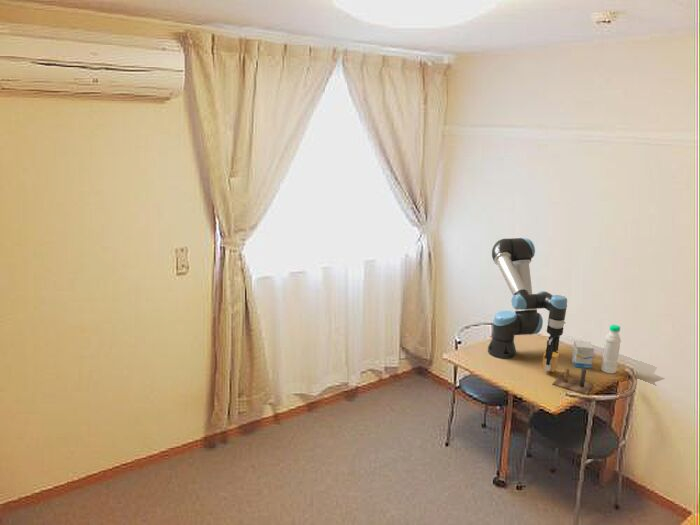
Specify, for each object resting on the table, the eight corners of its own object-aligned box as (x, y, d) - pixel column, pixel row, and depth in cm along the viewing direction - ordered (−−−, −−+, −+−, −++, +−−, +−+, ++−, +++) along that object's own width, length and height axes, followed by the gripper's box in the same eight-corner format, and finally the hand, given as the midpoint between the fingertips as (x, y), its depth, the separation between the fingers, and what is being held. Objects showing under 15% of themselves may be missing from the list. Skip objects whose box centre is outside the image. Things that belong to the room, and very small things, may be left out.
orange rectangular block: (541, 368, 266) (543, 354, 264) (545, 364, 271) (547, 350, 268) (553, 371, 263) (555, 357, 260) (557, 367, 267) (559, 353, 265)
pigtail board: (552, 384, 255) (554, 366, 252) (559, 376, 264) (562, 358, 261) (586, 395, 245) (589, 376, 243) (593, 385, 254) (596, 367, 252)
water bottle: (609, 375, 265) (616, 329, 259) (597, 369, 271) (604, 324, 265) (618, 372, 268) (626, 327, 262) (606, 366, 274) (613, 322, 268)
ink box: (591, 369, 272) (594, 348, 269) (574, 367, 274) (577, 346, 271) (588, 361, 280) (590, 341, 277) (571, 360, 282) (574, 340, 279)
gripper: (557, 334, 251) (551, 376, 257) (568, 322, 265) (562, 363, 272) (541, 329, 255) (536, 372, 262) (553, 318, 269) (548, 358, 276)
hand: (549, 367), depth 267 cm, fingers closed on orange rectangular block, 6 cm apart
